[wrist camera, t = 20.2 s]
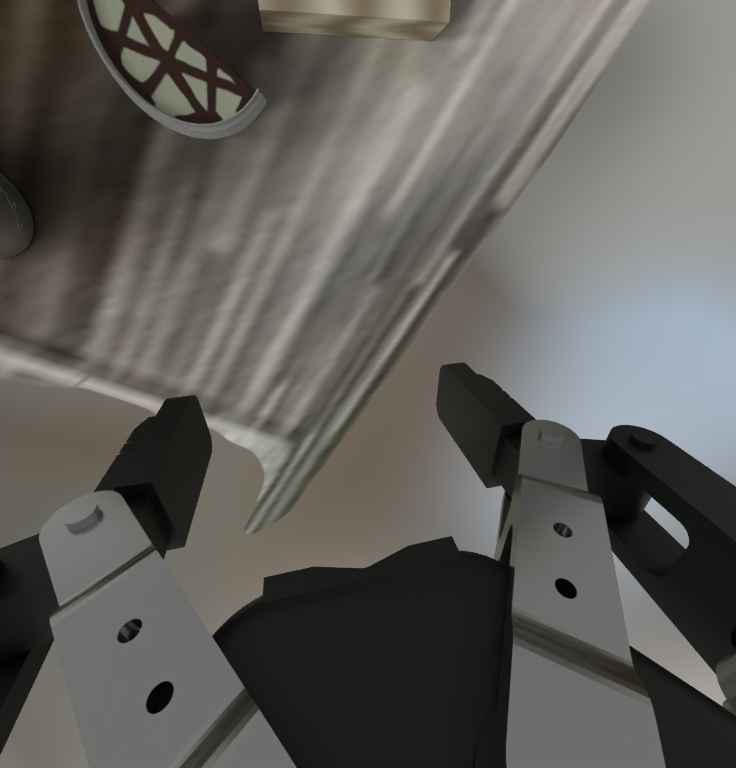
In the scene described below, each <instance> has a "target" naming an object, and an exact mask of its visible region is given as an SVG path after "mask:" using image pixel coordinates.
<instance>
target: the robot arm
mask: <svg viewBox="0 0 736 768" xmlns="http://www.w3.org/2000/svg"><path fill="white" fill-rule="evenodd" d="M33 230H34V226H33V219H32V215H31V212H30V210H29V207H28V205H27V203H26V202H25V200H24V198H23V196H22V195H21V193H20V192H19V191H18V190H17V189H16V187H15V186H14V185H13V184H12V183H11V182H10V181H9V180H8V179H7V178H6V177H5V176H4V175H3V174H2V173H1V172H0V259H4V258H8V257H12V256H16V255H18V254H19V253H21V252H23V251H24V250H25V249H26V248H27V247H28V246H29V244H30V242H31V240H32V237H33ZM436 406H437V412H438V416H439V418H440V420H441V421H442V423H443V424H444V426H445V427H446V429H447V430H448V432H449V433H450V435H451V436H452V438H453V439H454V441H455V442H456V444H457V445H458V446H459V448H460V450H461V451H462V452H463V454H464V455H465V457H466V458H467V460H468V461H469V463H470V464H471V466H472V467H473V469H474V470H475V472H476V473H477V475H478V476H479V478H480V479H481V480H482V482H483V483H484V485H485V486H486V488H491V487H495V486H501V485H502V487H503V488H504V490H505V492H504V495H503V500H502V508H501V514H500V522H499V529H498V537H497V545H496V550H495V556H494V559H492V558H490V557H487V556H485V555H481V554H478V553H474V552H468V551H459V550H458V548H457V546H456V544H455V542H454V540H453V538H452V536H450V537H446V538H441V539H436V540H432V541H428V542H423V543H419V544H414V545H410V546H407V547H405V548H403V549H402V550H400V551H398V552H396V553H394V554H392V555H390V556H388V557H386V558H385V559H383V560H381V561H379V562H377V563H375V564H373V565H371V566H369V567H367V568H335V567H310V568H306V569H301V570H296V571H292V572H287V573H283V574H279V575H275V576H269V577H265V578H264V586H263V587H264V588H263V595H262V596H260V597H258V598H256V599H255V600H253V601H252V602H250V603H249V604H247V605H246V606H244V607H242V608H241V609H240V610H239V611H237V612H236V613H235V614H234V615H233V616H231V617H230V618H229V619H228V620H227V621H226V622H225V623H224V624H223V625H222V626H221V627H220V628H219V629H218V630H217V631H216V632H215V634H214V635H213V636H211V634H210V633H209V631H208V629H207V628H206V626H205V625H204V623H203V622H202V620H201V618H200V617H199V615H198V614H197V612H196V611H195V609H194V608H193V606H192V604H191V603H190V601H189V600H188V598H187V596H186V595H185V594H184V592H183V590H182V589H181V587H180V585H179V584H178V582H177V581H176V579H175V578H174V576H173V575H172V573H171V571H170V570H169V568H168V567H167V565H166V564H165V562H164V557H165V554H166V551H167V550H171V549H176V548H181V547H184V546H185V543H186V540H187V537H188V533H189V530H190V526H191V523H192V519H193V516H194V512H195V509H196V505H197V502H198V498H199V495H200V491H201V488H202V485H203V481H204V478H205V474H206V471H207V467H208V464H209V460H210V457H211V453H212V440H211V435H210V433H209V429H208V426H207V423H206V421H205V418H204V415H203V412H202V409H201V406H200V403H199V401H198V399H197V397H196V396H194V395H191V396H183V397H175V398H168V399H166V400H165V401H164V403H163V405H162V406H161V408H160V410H159V411H158V413H157V415H156V416H154V417H149V418H147V419H146V420H145V421H144V422H142V423H141V424H140V425H139V426H138V427H136V428H135V429H134V431H133V432H132V434H131V435H130V437H129V438H128V440H127V441H126V443H127V444H124V446H123V448H122V449H121V451H120V452H119V453H120V455H118V456H117V457H116V458H115V460H114V462H113V463H112V465H111V466H110V468H109V469H108V471H107V472H106V474H105V475H104V477H103V478H102V480H101V482H100V483H99V485H98V486H97V488H96V489H95V491H94V492H93V493H90V494H87V495H84V496H82V497H80V498H77V499H75V500H73V501H72V502H70V503H68V504H67V505H65V506H64V507H62V508H61V509H60V510H58V511H57V512H56V513H54V515H52V516H51V517H50V518H49V520H48V521H47V522H46V523H45V525H44V526H43V527H42V529H41V531H40V533H39V534H37V535H35V536H32V537H29V538H26V539H24V540H21V541H18V542H16V543H13V544H11V545H8V546H6V547H3V548H0V754H1V752H2V750H3V748H4V746H5V744H6V741H7V739H8V737H9V735H10V733H11V731H12V729H13V726H14V724H15V722H16V720H17V718H18V716H19V714H20V712H21V709H22V707H23V705H24V703H25V701H26V699H27V697H28V694H29V692H30V690H31V688H32V686H33V684H34V681H35V679H36V677H37V675H38V673H39V671H40V668H41V667H42V664H43V662H44V660H45V658H46V656H47V654H48V652H49V649H50V647H51V645H52V643H53V641H54V640H55V643H56V647H57V651H58V654H59V658H60V661H61V665H62V669H63V673H64V676H65V680H66V683H67V687H68V691H69V694H70V698H71V702H72V705H73V709H74V712H75V716H76V719H77V723H78V727H79V731H80V735H81V738H82V742H83V745H84V749H85V753H86V756H87V760H88V764H89V767H90V768H736V487H735V486H734V485H732V484H731V483H729V482H728V481H727V480H725V479H724V478H722V477H721V476H720V475H718V474H717V473H715V472H714V471H712V470H711V469H709V468H708V467H707V466H705V465H704V464H702V463H701V462H699V461H698V460H696V459H695V458H693V457H692V456H691V455H689V454H688V453H686V452H685V451H683V450H682V449H680V448H679V447H678V446H676V445H675V444H673V443H672V442H670V441H669V440H667V439H666V438H664V437H663V436H661V435H659V434H657V433H655V432H653V431H650V430H647V429H645V428H641V427H637V426H631V425H620V426H616V427H613V428H612V429H611V431H610V433H609V435H608V437H607V439H606V440H592V439H591V440H590V439H579V437H578V436H577V434H576V433H574V432H573V431H572V430H570V429H569V428H567V427H565V426H564V425H561V424H559V423H556V422H552V421H548V420H536V419H535V418H534V417H533V416H531V415H530V414H529V413H528V412H527V411H526V410H525V409H524V408H523V407H521V406H520V405H519V404H518V403H517V402H516V401H515V400H514V399H512V398H510V396H509V395H508V394H507V393H506V392H505V391H502V388H500V387H499V386H498V385H497V384H496V383H495V382H494V381H493V380H491V379H489V378H486V377H484V376H482V375H480V374H478V375H477V374H476V373H475V372H474V371H473V370H472V369H471V368H470V367H469V366H468V365H467V364H465V363H455V364H447V365H442V367H441V369H440V374H439V383H438V393H437V402H436ZM651 497H653V499H655V500H656V501H657V502H658V503H659V504H660V505H661V506H662V507H664V508H665V509H666V510H667V511H668V512H669V513H670V514H672V515H673V516H674V517H675V518H676V519H677V520H678V521H679V522H680V523H681V524H682V525H683V526H684V528H685V529H686V531H687V533H688V536H689V546H688V547H687V549H685V548H684V547H683V546H681V545H680V544H679V543H678V542H677V541H676V540H675V539H674V538H673V537H672V536H671V535H670V534H669V533H668V532H667V531H666V530H665V529H664V528H663V527H661V526H660V525H659V524H658V523H657V522H656V521H655V520H654V519H653V518H652V517H651V516H650V515H649V514H648V513H647V512H646V511H645V510H644V508H645V507H646V505H647V503H648V502H649V500H650V499H651ZM612 551H613V552H614V553H615V555H616V556H617V557H618V558H619V560H620V561H621V562H622V563H623V564H624V566H625V567H626V568H627V569H628V570H629V571H630V573H631V574H632V575H633V576H634V577H635V579H636V580H637V581H638V582H639V583H640V585H641V586H642V587H643V588H644V589H645V591H646V592H647V593H648V594H649V595H650V597H651V598H652V599H653V600H654V601H655V602H656V604H657V605H658V606H659V607H660V608H661V609H662V611H663V612H664V613H665V614H666V616H667V617H668V618H669V619H670V620H671V621H672V623H673V624H674V625H675V626H676V627H677V628H678V630H679V631H680V632H681V633H682V634H683V636H684V637H685V638H686V639H687V640H688V642H689V643H690V644H691V645H692V646H693V648H694V649H695V650H696V651H697V652H698V654H700V656H701V657H702V658H703V659H704V661H705V662H706V663H707V664H708V665H709V667H710V668H711V669H712V670H713V671H714V673H715V674H716V676H717V679H718V683H719V685H720V688H721V690H722V692H723V694H724V696H725V697H726V700H725V701H724V702H723V707H722V706H721V705H719V704H718V703H716V702H715V701H713V700H712V699H710V698H709V697H707V696H705V695H704V694H703V693H701V692H699V691H698V690H696V689H695V688H693V687H692V686H690V685H689V684H687V683H686V682H684V681H683V680H681V679H680V678H678V677H677V676H675V675H674V674H672V673H671V672H669V671H668V670H666V669H664V668H663V667H662V666H660V665H659V664H657V663H655V662H654V661H652V660H651V659H649V658H648V657H646V656H645V655H643V654H642V653H640V652H639V651H637V650H635V649H634V648H633V647H631V646H630V645H629V643H628V637H627V632H626V626H625V621H624V615H623V610H622V605H621V599H620V594H619V588H618V583H617V578H616V572H615V566H614V561H613V555H612Z"/></svg>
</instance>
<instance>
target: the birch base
mask: <svg viewBox="0 0 736 768" xmlns="http://www.w3.org/2000/svg"><path fill="white" fill-rule="evenodd" d="M258 4H259V11H260V17H261V23H262V29H263V32H281V33H299V34H317V35H335V36H353V37H371V38H390V39H408V40H426V41H433V40H434V39H435V37H436V36H437V35H438V34H439V33H440V32H441V31H442V30H443V29H444V27H445V26H446V25H447V24H448V23H449V20H450V6H451V0H258Z"/></svg>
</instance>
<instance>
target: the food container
mask: <svg viewBox="0 0 736 768" xmlns="http://www.w3.org/2000/svg"><path fill="white" fill-rule="evenodd" d="M77 2H78V6H79V10H80V13H81V16H82V18H83V21H84V24H85V27H86V29H87V32H88V34H89V36H90V38H91V40H92V42H93V44H94V46H95V48H96V50H97V52H98V54H99V55H100V57H101V59H102V60H103V62H104V63H105V65H106V67H107V68H108V70H109V71H110V73H111V74H112V76H113V77H114V78H115V80H116V81H117V82H118V84H119V85H120V86H121V87H122V89H123V90H124V91H125V93H126V94H127V95H128V96H129V97H130V98H131V99H132V100H133V101H134V102H135V103H136V104H137V105H138V106H139V107H140V108H141V109H142V110H143V111H145V112H146V113H147V114H148V115H149V116H151V117H152V118H153V119H155V120H156V121H158V122H159V123H161V124H162V125H164V126H166V127H167V128H170V129H172V130H174V131H176V132H178V133H180V134H184V135H187V136H190V137H194V138H202V139H219V138H224V137H227V136H231V135H234V134H236V133H238V132H240V131H242V130H243V129H245V128H246V127H247V126H248V125H250V124H251V123H252V122H253V121H254V120H255V119H256V118H257V116H258V115H259V114H260V113H261V112H262V110H263V108H264V106H265V105H266V103H267V101H266V99H265V97H264V96H263V94H262V93H261V92H260V91H259V89H258V88H257V90H256V91H255V90H254V89H253V88H252V87H251V86H250V85H249V84H248V83H247V82H245V81H244V80H242V79H241V78H240V77H239V76H238V75H236V74H235V73H234V72H233V71H232V70H231V69H230V68H229V67H227V66H226V65H225V64H224V63H223V62H222V61H221V60H220V59H219V58H217V57H216V56H215V55H214V54H213V53H212V52H211V51H209V50H208V49H207V48H206V47H205V46H204V45H203V44H202V43H201V42H199V41H198V40H197V39H196V38H195V37H194V36H193V35H192V34H191V33H189V32H188V31H187V30H186V29H185V28H184V27H183V26H182V25H181V24H180V23H178V22H177V21H176V20H175V19H174V18H173V17H171V16H170V15H169V14H168V13H167V12H166V11H164V10H163V9H162V8H161V7H160V6H159V5H157V4H156V3H155V2H154V1H153V0H77Z"/></svg>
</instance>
